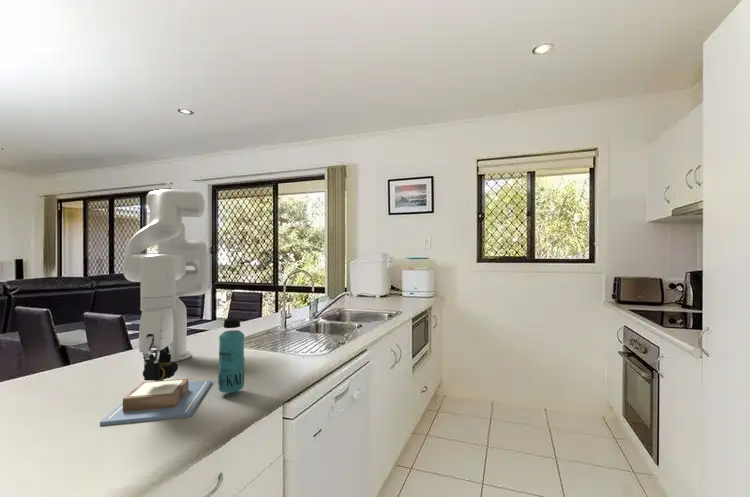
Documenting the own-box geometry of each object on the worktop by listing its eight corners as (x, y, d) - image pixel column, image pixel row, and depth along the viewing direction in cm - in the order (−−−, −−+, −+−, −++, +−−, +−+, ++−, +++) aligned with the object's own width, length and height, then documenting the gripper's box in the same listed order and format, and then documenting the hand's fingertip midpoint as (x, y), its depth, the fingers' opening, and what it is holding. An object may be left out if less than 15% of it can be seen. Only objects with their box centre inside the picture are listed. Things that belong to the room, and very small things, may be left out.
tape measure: (178, 373, 93) (179, 359, 93) (170, 382, 87) (170, 367, 87) (149, 375, 92) (149, 361, 92) (138, 385, 85) (138, 369, 85)
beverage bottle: (222, 389, 97) (223, 316, 98) (247, 388, 98) (247, 316, 98) (214, 399, 91) (214, 321, 91) (240, 398, 92) (240, 320, 92)
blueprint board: (142, 388, 99) (142, 374, 99) (212, 382, 103) (212, 369, 103) (99, 425, 77) (100, 407, 77) (189, 416, 81) (189, 399, 81)
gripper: (155, 299, 97) (154, 365, 97) (125, 309, 80) (124, 388, 80) (185, 298, 99) (185, 363, 98) (162, 307, 82) (161, 385, 81)
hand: (158, 373), depth 89 cm, fingers closed on tape measure, 6 cm apart
